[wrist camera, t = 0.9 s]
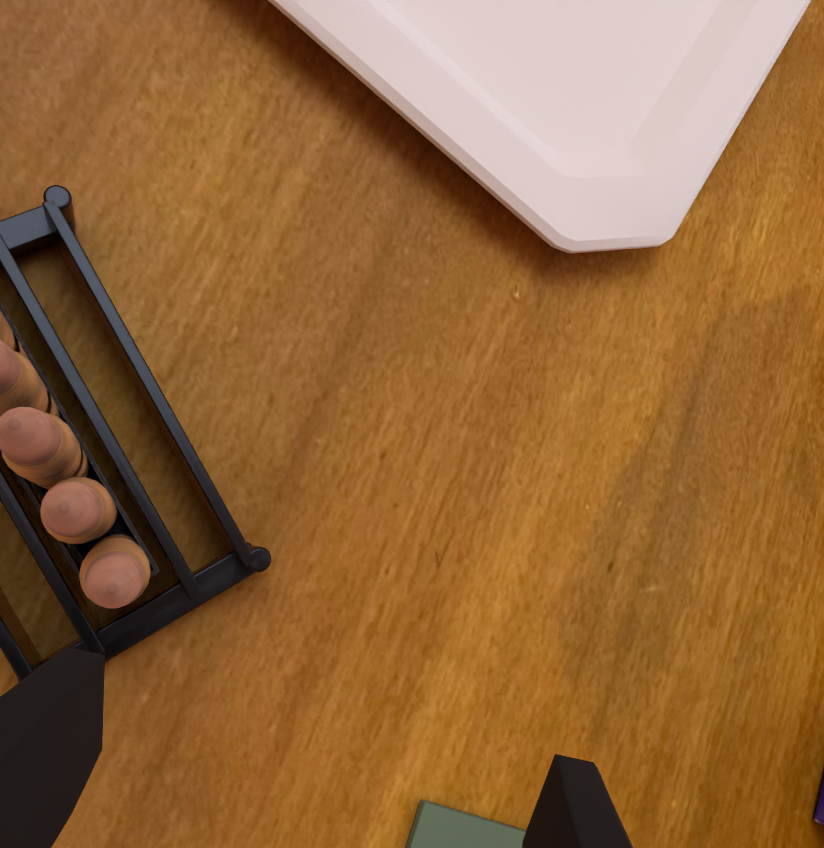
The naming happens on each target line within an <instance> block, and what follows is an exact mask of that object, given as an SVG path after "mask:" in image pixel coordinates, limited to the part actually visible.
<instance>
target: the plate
mask: <svg viewBox="0 0 824 848" xmlns="http://www.w3.org/2000/svg"><path fill="white" fill-rule="evenodd" d="M268 1H269V2H270V3H271V4H272V5H274V6H275V7H276V8H277V9H278V10H279V11H281V12H282V13H283V14H284V15H285V16H286V17H287V18H289V19H290V20H291V21H292V22H293V23H294V24H296V25H297V26H298V27H299V28H300V29H301V30H302V31H304V32H305V33H306V34H307V35H308V36H309V37H311V38H312V39H313V40H314V41H315V42H316V43H317V44H319V45H320V46H321V47H322V48H323V49H324V50H325V51H327V52H328V53H329V54H330V55H331V56H332V57H334V58H335V59H336V60H337V61H338V62H339V63H340V64H342V65H343V66H344V67H345V68H346V69H347V70H349V71H350V72H351V73H352V74H353V75H354V76H355V77H357V78H358V79H359V80H360V81H361V82H362V83H364V84H365V85H366V86H367V87H368V88H369V89H370V90H372V91H373V92H374V93H375V94H376V95H377V96H378V97H380V98H381V99H382V100H383V101H384V102H385V103H387V104H388V105H389V106H390V107H391V108H392V109H393V110H395V111H396V112H397V113H398V114H399V115H400V116H402V117H403V118H404V119H405V120H406V121H407V122H408V123H410V124H411V125H412V126H413V127H414V128H415V129H416V130H418V131H419V132H420V133H421V134H422V135H423V136H425V137H426V138H427V139H428V140H429V141H430V142H431V143H433V144H434V145H435V146H436V147H437V148H438V149H439V150H441V151H442V152H443V153H444V154H445V155H446V156H448V157H449V158H450V159H451V160H452V161H453V162H454V163H456V164H457V165H458V166H459V167H460V168H461V169H462V170H464V171H465V172H466V173H467V174H468V175H469V176H470V177H472V178H473V179H474V180H475V181H476V182H477V183H479V184H480V185H481V186H482V187H483V188H484V189H485V190H487V191H488V192H489V193H490V194H491V195H492V196H493V197H495V198H496V199H497V200H498V201H499V202H500V203H502V204H503V205H504V206H505V207H506V208H507V209H508V210H510V211H511V212H512V213H513V214H514V215H515V216H516V217H518V218H519V219H520V220H521V221H522V222H523V223H525V224H526V225H527V226H528V227H529V228H530V229H531V230H533V231H534V232H535V233H536V234H537V235H538V236H539V237H541V238H542V239H543V240H544V241H545V242H546V243H548V244H549V245H550V246H551V247H553V248H556V249H559V250H561V251H564V252H567V253H582V252H595V251H608V250H621V249H634V248H647V247H659V246H660V245H662V244H663V243H665V242H666V241H668V240H669V239H671V238H672V237H673V236H674V234H675V232H676V231H677V229H678V227H679V226H680V224H681V222H682V220H683V219H684V217H685V215H686V214H687V212H688V210H689V208H690V207H691V205H692V203H693V202H694V200H695V198H696V197H697V195H698V193H699V191H700V190H701V188H702V186H703V185H704V183H705V181H706V179H707V178H708V176H709V174H710V173H711V171H712V169H713V167H714V166H715V164H716V162H717V161H718V159H719V157H720V155H721V154H722V152H723V150H724V149H725V147H726V145H727V143H728V142H729V140H730V138H731V137H732V135H733V133H734V131H735V130H736V128H737V126H738V125H739V123H740V121H741V120H742V118H743V116H744V114H745V113H746V111H747V109H748V108H749V106H750V104H751V102H752V101H753V99H754V97H755V96H756V94H757V92H758V90H759V89H760V87H761V85H762V84H763V82H764V80H765V78H766V77H767V75H768V73H769V72H770V70H771V68H772V66H773V65H774V63H775V61H776V60H777V58H778V56H779V55H780V53H781V51H782V49H783V48H784V46H785V44H786V43H787V41H788V39H789V37H790V36H791V34H792V32H793V31H794V29H795V27H796V25H797V24H798V22H799V20H800V19H801V17H802V15H803V13H804V12H805V10H806V8H807V7H808V5H809V3H810V1H811V0H268Z"/></svg>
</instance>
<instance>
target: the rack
mask: <svg viewBox="0 0 824 848" xmlns="http://www.w3.org/2000/svg"><path fill="white" fill-rule="evenodd" d="M43 198H44V202H43V203H42V204H43V205H42V206H40V207H37V208H34V209H31V210H29V211H26V212H23V213H20V214H18V215H15V216H12V217H9V218H7V219H4V220H1V221H0V267H1V268H2V270H3V272H4V274H5V276H6V277H7V279H8V281H9V283H10V284H11V286H12V288H13V290H14V291H15V293H16V295H17V297H18V299H19V300H20V302H21V304H22V306H23V307H24V309H25V311H26V313H27V314H28V316H29V318H30V320H31V322H32V323H33V325H34V327H35V329H36V330H37V332H38V334H39V336H40V337H41V339H42V341H43V343H44V345H45V346H46V348H47V350H48V352H49V353H50V355H51V357H52V359H53V360H54V362H55V364H56V366H57V368H58V369H59V371H60V373H61V375H62V376H63V378H64V380H65V382H66V383H67V385H68V387H69V389H70V391H71V392H72V394H73V396H74V398H75V399H76V401H77V403H78V405H79V406H80V408H81V410H82V412H83V414H84V415H85V417H86V419H87V421H88V422H89V424H90V426H91V428H92V429H93V431H94V433H95V435H96V437H97V438H98V440H99V442H100V444H101V445H102V447H103V449H104V451H105V452H106V454H107V456H108V458H109V460H110V461H111V463H112V465H113V467H114V468H115V470H116V472H117V474H118V475H119V477H120V479H121V481H122V483H123V484H124V486H125V488H126V490H127V491H128V493H129V495H130V497H131V498H132V500H133V502H134V504H135V505H136V507H137V509H138V511H139V513H140V514H141V516H142V518H143V520H144V521H145V523H146V525H147V527H148V528H149V530H150V532H151V534H152V536H153V537H154V539H155V541H156V543H157V544H158V546H159V548H160V550H161V551H162V553H163V555H164V557H165V559H166V560H167V562H168V564H169V566H170V567H171V569H172V571H173V573H174V574H175V576H176V578H177V580H178V581H177V582H175V583H173V584H172V585H170V586H168V587H166V588H165V589H163V590H161V591H160V592H158V593H156V594H154V595H153V596H151V597H149V598H147V599H146V600H144V601H142V602H141V603H139V604H137V605H135V606H134V607H132V608H130V609H129V610H127V611H125V612H123V613H122V614H120V615H118V616H116V617H115V618H113V619H111V620H110V621H108V622H106V623H104V624H103V625H101V626H99V625H98V624H97V622H96V620H95V619H94V617H93V615H92V613H91V612H90V610H89V608H88V606H87V605H86V603H85V601H84V599H83V598H82V596H81V594H80V592H79V591H78V589H77V587H76V585H75V584H74V582H73V580H72V579H71V577H70V575H69V573H68V572H67V570H66V568H65V566H64V565H63V563H62V561H61V559H60V558H59V556H58V554H57V552H56V551H55V549H54V547H53V546H52V544H51V542H50V540H49V539H48V537H47V535H46V533H45V532H44V530H43V528H42V526H41V525H40V523H39V521H38V519H37V518H36V516H35V514H34V512H33V511H32V509H31V507H30V506H29V504H28V502H27V500H26V499H25V497H24V495H23V493H22V492H21V490H20V488H19V486H18V485H17V483H16V481H15V479H14V478H13V476H12V474H11V473H10V471H9V469H8V467H7V466H6V464H5V462H4V460H3V459H2V457H1V455H0V500H1V501H2V503H3V505H4V507H5V508H6V510H7V512H8V513H9V515H10V517H11V519H12V520H13V522H14V524H15V526H16V527H17V529H18V531H19V533H20V534H21V536H22V538H23V539H24V541H25V543H26V545H27V546H28V548H29V550H30V552H31V553H32V555H33V557H34V558H35V560H36V562H37V564H38V565H39V567H40V569H41V571H42V572H43V574H44V576H45V578H46V579H47V581H48V583H49V584H50V586H51V588H52V590H53V591H54V593H55V595H56V597H57V598H58V600H59V602H60V603H61V605H62V607H63V609H64V610H65V612H66V614H67V616H68V617H69V619H70V621H71V623H72V624H73V626H74V628H75V629H76V631H77V633H78V635H79V636H80V638H79V639H77V640H75V641H73V642H72V643H70V644H68V645H66V646H65V647H63V648H61V649H60V650H58V651H56V652H54V653H53V654H51V655H49V656H47V657H46V658H44V659H41V657H40V656H39V654H38V652H37V651H36V649H35V647H34V645H33V644H32V642H31V640H30V639H29V637H28V635H27V633H26V632H25V630H24V628H23V627H22V625H21V623H20V621H19V620H18V618H17V616H16V615H15V613H14V611H13V609H12V608H11V606H10V604H9V603H8V601H7V599H6V597H5V596H4V594H3V592H2V591H1V589H0V648H1V650H2V651H3V653H4V655H5V657H6V658H7V660H8V662H9V663H10V665H11V667H12V668H13V670H14V672H15V674H16V675H17V677H18V681H19V682H21V681H22V680H23V679H25V678H26V677H27V676H28V675H30V674H31V673H32V672H34V671H35V670H36V669H38V668H39V667H40V666H41V665H43V664H44V663H45V662H47V661H48V660H49V659H51V658H52V657H53V656H54V655H56V654H57V653H58V652H60V651H61V650H63V649H65V648H67V647H69V648H73V649H78V650H82V651H87V652H91V653H96V654H101V655H105V662H107V661H108V660H110V659H112V658H113V657H115V656H117V655H118V654H120V653H122V652H123V651H125V650H127V649H128V648H130V647H132V646H133V645H135V644H137V643H138V642H140V641H142V640H143V639H145V638H147V637H148V636H150V635H152V634H153V633H155V632H157V631H158V630H160V629H162V628H163V627H165V626H167V625H168V624H170V623H172V622H173V621H175V620H177V619H178V618H180V617H182V616H183V615H185V614H187V613H188V612H190V611H192V610H193V609H195V608H197V607H198V606H200V605H202V604H203V603H205V602H207V601H208V600H210V599H212V598H213V597H215V596H217V595H218V594H220V593H222V592H223V591H225V590H227V589H228V588H230V587H232V586H233V585H235V584H237V583H238V582H240V581H242V580H243V579H245V578H247V577H248V576H250V575H252V574H253V573H255V572H262V571H264V570H266V569H267V568H268V567H269V566H270V563H271V555H270V553H269V551H268V550H267V549H265V548H263V547H258V546H252V545H251V544H250V543H247V542H245V540H244V538H243V536H242V534H241V533H240V531H239V529H238V527H237V525H236V524H235V522H234V520H233V518H232V516H231V515H230V513H229V511H228V509H227V507H226V506H225V504H224V502H223V500H222V498H221V497H220V495H219V493H218V491H217V489H216V488H215V486H214V484H213V482H212V481H211V479H210V477H209V475H208V473H207V472H206V470H205V468H204V466H203V464H202V463H201V461H200V459H199V457H198V455H197V454H196V452H195V450H194V448H193V446H192V445H191V443H190V441H189V439H188V437H187V436H186V434H185V432H184V430H183V428H182V427H181V425H180V423H179V421H178V419H177V418H176V416H175V414H174V412H173V410H172V409H171V407H170V405H169V403H168V402H167V400H166V398H165V396H164V394H163V393H162V391H161V389H160V387H159V385H158V384H157V382H156V380H155V378H154V376H153V375H152V373H151V371H150V369H149V367H148V366H147V364H146V362H145V360H144V358H143V357H142V355H141V353H140V351H139V349H138V348H137V346H136V344H135V342H134V340H133V339H132V337H131V335H130V333H129V331H128V330H127V328H126V326H125V324H124V323H123V321H122V319H121V317H120V315H119V314H118V312H117V310H116V308H115V306H114V305H113V303H112V301H111V299H110V297H109V296H108V294H107V292H106V290H105V288H104V287H103V285H102V283H101V281H100V279H99V278H98V276H97V274H96V272H95V270H94V269H93V267H92V265H91V263H90V261H89V260H88V258H87V256H86V254H85V252H84V251H83V249H82V247H81V245H80V244H79V242H78V240H77V238H76V236H75V231H74V230H75V227H76V224H75V217H74V211H73V205H72V198H71V194H70V192H69V191H68V190H67V189H66V188H64V187H62V186H59V185H54V186H50V187H48V188H47V189H46V190H45V192H44V195H43ZM55 243H56V245H57V246H58V248H59V250H60V252H61V253H62V255H63V257H64V259H65V261H66V262H67V264H68V266H69V268H70V270H71V271H72V273H73V275H74V277H75V278H76V280H77V282H78V284H79V286H80V287H81V289H82V291H83V293H84V295H85V296H86V298H87V300H88V302H89V304H90V305H91V307H92V309H93V311H94V312H95V314H96V316H97V318H98V320H99V321H100V323H101V325H102V327H103V329H104V330H105V332H106V334H107V336H108V338H109V339H110V341H111V343H112V345H113V346H114V348H115V350H116V352H117V354H118V355H119V357H120V359H121V361H122V363H123V364H124V366H125V368H126V370H127V372H128V373H129V375H130V377H131V379H132V380H133V382H134V384H135V386H136V388H137V389H138V391H139V393H140V395H141V397H142V398H143V400H144V402H145V404H146V405H147V407H148V409H149V411H150V413H151V414H152V416H153V418H154V420H155V422H156V423H157V425H158V427H159V429H160V431H161V432H162V434H163V436H164V438H165V439H166V441H167V443H168V445H169V447H170V448H171V450H172V452H173V454H174V456H175V457H176V459H177V461H178V463H179V465H180V466H181V468H182V470H183V472H184V473H185V475H186V477H187V479H188V481H189V482H190V484H191V486H192V488H193V490H194V491H195V493H196V495H197V497H198V498H199V500H200V502H201V504H202V506H203V507H204V509H205V511H206V513H207V515H208V516H209V518H210V520H211V522H212V524H213V525H214V527H215V529H216V531H217V532H218V534H219V536H220V538H221V540H222V541H223V543H224V545H225V547H226V549H227V550H228V552H227V553H225V554H223V555H222V556H220V557H218V558H216V559H215V560H213V561H211V562H210V563H208V564H206V565H204V566H203V567H201V568H199V569H197V570H196V571H194V572H192V573H191V571H190V569H189V568H188V566H187V564H186V562H185V561H184V559H183V557H182V555H181V553H180V552H179V550H178V548H177V546H176V545H175V543H174V541H173V539H172V537H171V536H170V534H169V532H168V530H167V529H166V527H165V525H164V523H163V522H162V520H161V518H160V516H159V514H158V513H157V511H156V509H155V507H154V506H153V504H152V502H151V500H150V498H149V497H148V495H147V493H146V491H145V490H144V488H143V486H142V484H141V483H140V481H139V479H138V477H137V475H136V474H135V472H134V470H133V468H132V467H131V465H130V463H129V461H128V459H127V458H126V456H125V454H124V452H123V451H122V449H121V447H120V445H119V443H118V442H117V440H116V438H115V436H114V435H113V433H112V431H111V429H110V428H109V426H108V424H107V422H106V420H105V419H104V417H103V415H102V413H101V412H100V410H99V408H98V406H97V404H96V403H95V401H94V399H93V397H92V396H91V394H90V392H89V390H88V388H87V387H86V385H85V383H84V381H83V380H82V378H81V376H80V374H79V373H78V371H77V369H76V367H75V365H74V364H73V362H72V360H71V358H70V357H69V355H68V353H67V351H66V349H65V348H64V346H63V344H62V342H61V341H60V339H59V337H58V335H57V333H56V332H55V330H54V328H53V326H52V325H51V323H50V321H49V319H48V318H47V316H46V314H45V312H44V310H43V309H42V307H41V305H40V303H39V302H38V300H37V298H36V296H35V294H34V293H33V291H32V289H31V287H30V286H29V284H28V282H27V280H26V278H25V277H24V275H23V273H22V271H21V270H20V268H19V266H18V264H17V263H16V261H15V259H16V258H19V257H21V256H24V255H27V254H29V253H32V252H34V251H37V250H40V249H42V248H45V247H47V246H50V245H53V244H55ZM19 682H18V683H19Z"/></svg>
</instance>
